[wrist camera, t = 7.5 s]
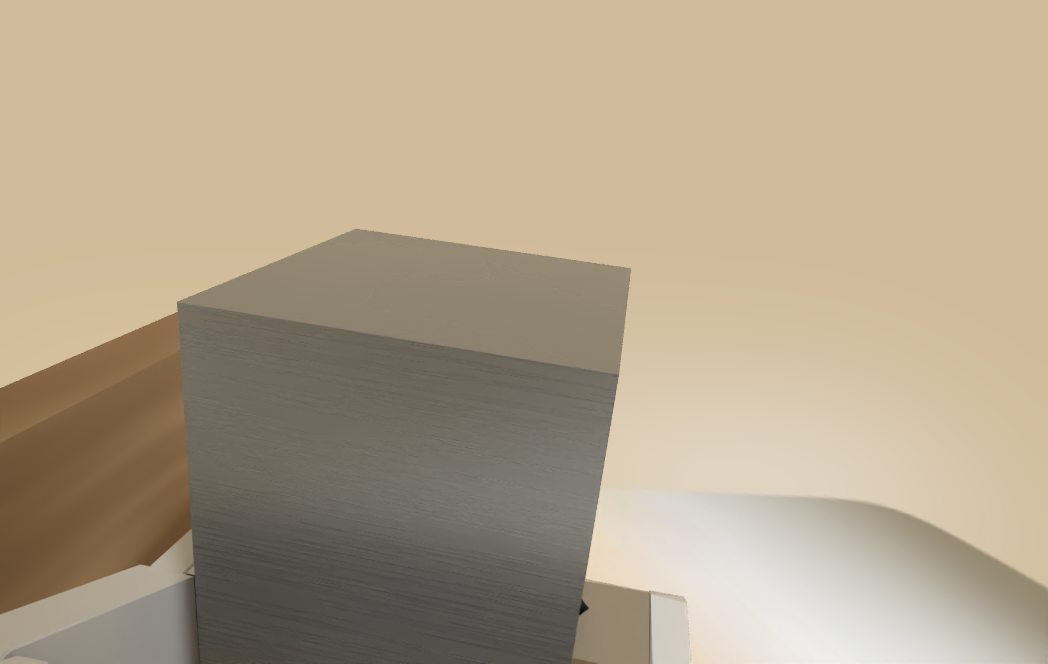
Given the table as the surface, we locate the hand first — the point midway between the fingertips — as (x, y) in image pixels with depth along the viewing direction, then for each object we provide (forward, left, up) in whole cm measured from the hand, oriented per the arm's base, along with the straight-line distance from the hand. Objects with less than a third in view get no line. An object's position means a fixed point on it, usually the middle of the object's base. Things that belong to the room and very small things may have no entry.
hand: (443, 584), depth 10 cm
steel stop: (0, +1, -6) cm, 6 cm away
